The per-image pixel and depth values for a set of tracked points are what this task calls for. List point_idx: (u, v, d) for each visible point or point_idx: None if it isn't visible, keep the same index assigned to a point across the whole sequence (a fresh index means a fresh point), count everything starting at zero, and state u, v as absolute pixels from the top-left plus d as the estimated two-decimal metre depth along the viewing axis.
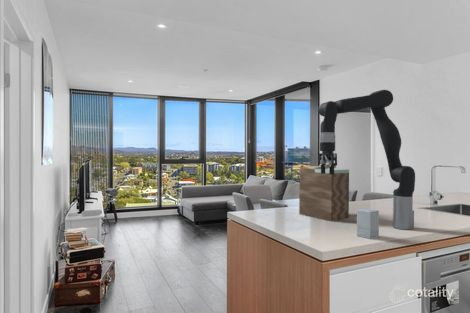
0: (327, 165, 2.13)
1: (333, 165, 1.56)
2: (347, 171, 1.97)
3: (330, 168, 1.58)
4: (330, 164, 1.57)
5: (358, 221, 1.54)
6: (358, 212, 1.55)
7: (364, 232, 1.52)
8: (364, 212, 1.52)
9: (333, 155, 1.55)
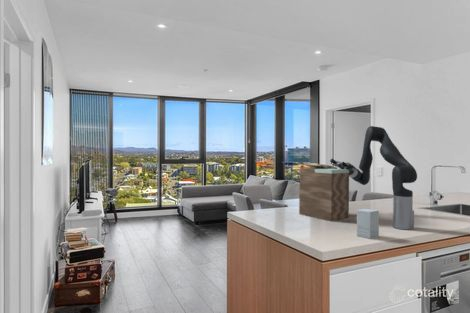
0: (329, 166, 2.16)
1: (331, 162, 2.06)
2: (347, 171, 1.97)
3: (332, 162, 2.03)
4: (333, 164, 2.05)
5: (358, 221, 1.54)
6: (358, 212, 1.55)
7: (364, 232, 1.52)
8: (364, 212, 1.52)
9: None
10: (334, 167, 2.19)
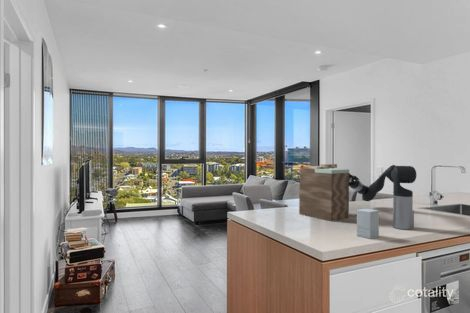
0: (328, 165, 2.16)
1: None
2: (347, 171, 1.97)
3: None
4: None
5: (358, 221, 1.54)
6: (358, 212, 1.55)
7: (364, 232, 1.52)
8: (364, 212, 1.52)
9: None
10: (334, 164, 2.19)
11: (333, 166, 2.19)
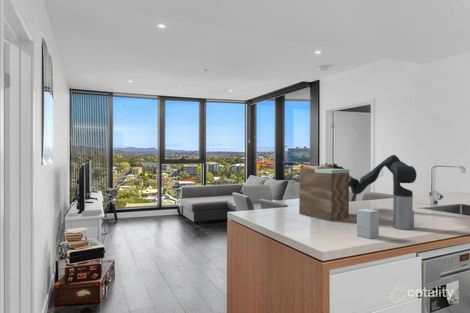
0: (328, 165, 2.16)
1: None
2: (347, 171, 1.97)
3: None
4: None
5: (358, 221, 1.54)
6: (358, 212, 1.55)
7: (364, 232, 1.52)
8: (364, 212, 1.52)
9: None
10: None
11: None
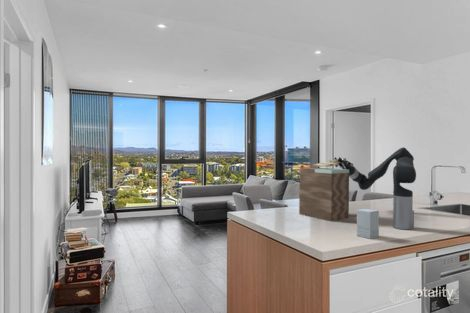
0: (337, 160, 2.09)
1: None
2: (347, 171, 1.97)
3: None
4: None
5: (358, 221, 1.54)
6: (358, 212, 1.55)
7: (364, 232, 1.52)
8: (364, 212, 1.52)
9: None
10: (343, 159, 2.12)
11: None
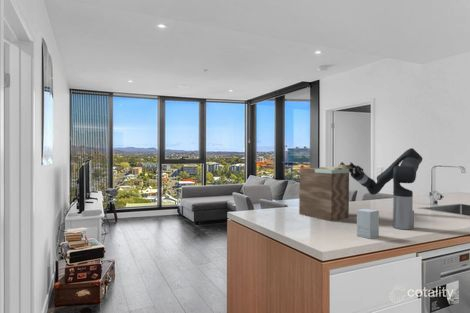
0: (346, 166, 2.04)
1: None
2: (347, 171, 1.97)
3: None
4: None
5: (358, 221, 1.54)
6: (358, 212, 1.55)
7: (364, 232, 1.52)
8: (364, 212, 1.52)
9: None
10: None
11: (351, 167, 2.07)
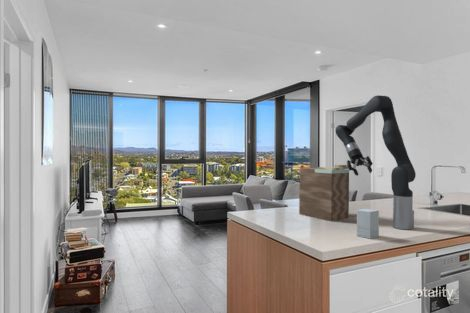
0: (343, 166, 2.04)
1: (350, 169, 1.96)
2: (347, 171, 1.97)
3: None
4: None
5: (358, 221, 1.54)
6: (358, 212, 1.55)
7: (364, 232, 1.52)
8: (364, 212, 1.52)
9: (347, 163, 1.98)
10: None
11: (347, 167, 2.07)
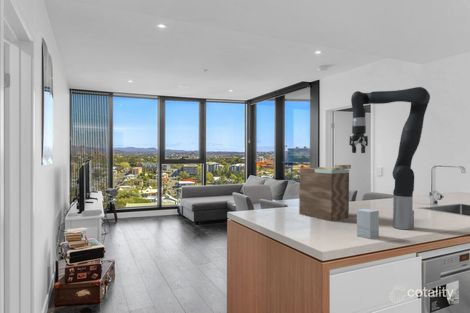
0: (343, 166, 2.04)
1: None
2: (347, 171, 1.97)
3: None
4: None
5: (358, 221, 1.54)
6: (358, 212, 1.55)
7: (364, 232, 1.52)
8: (364, 212, 1.52)
9: (350, 136, 1.88)
10: (348, 165, 2.07)
11: (347, 167, 2.07)
